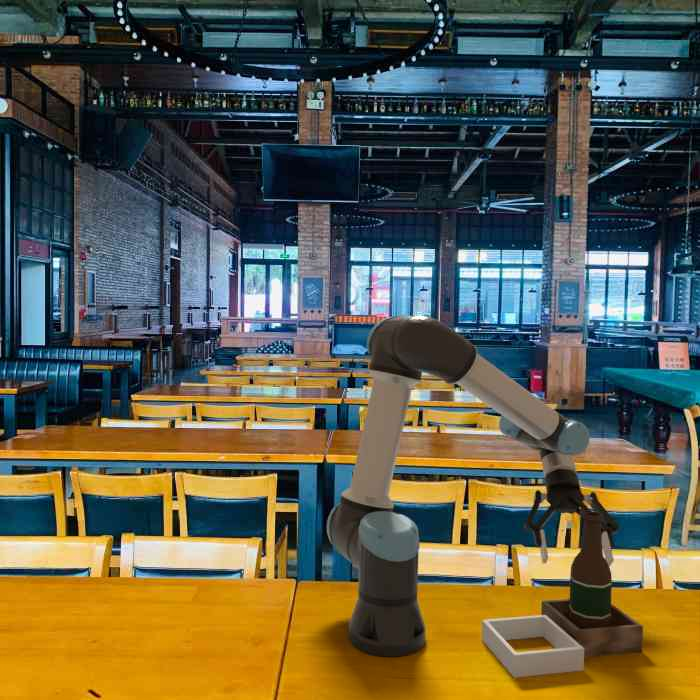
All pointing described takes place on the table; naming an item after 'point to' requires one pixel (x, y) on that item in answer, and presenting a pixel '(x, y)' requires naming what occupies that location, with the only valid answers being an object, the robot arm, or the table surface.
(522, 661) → the white corral
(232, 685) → the table surface
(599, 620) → the beer bottle
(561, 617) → the wooden bin
